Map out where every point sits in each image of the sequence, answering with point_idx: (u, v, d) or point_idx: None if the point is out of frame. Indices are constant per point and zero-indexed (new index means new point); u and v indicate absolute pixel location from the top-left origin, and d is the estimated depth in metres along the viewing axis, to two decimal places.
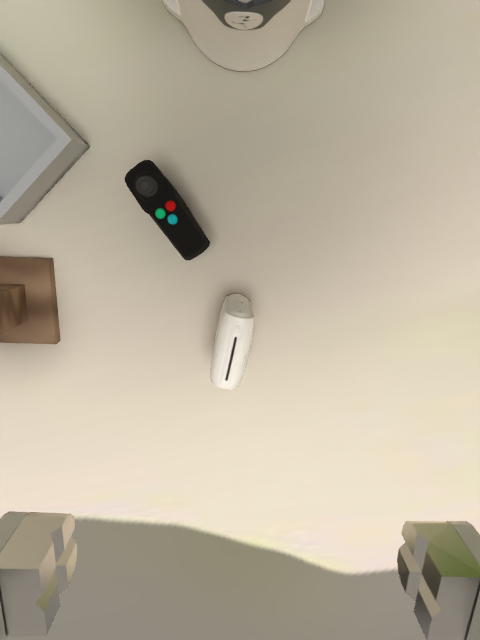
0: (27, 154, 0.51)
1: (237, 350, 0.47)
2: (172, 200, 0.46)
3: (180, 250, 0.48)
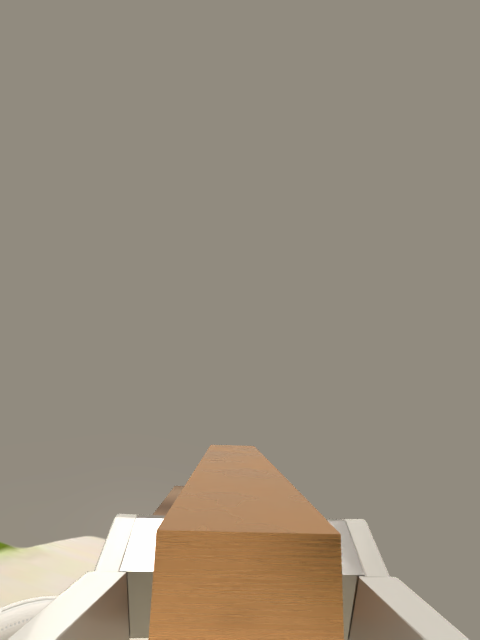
0: None
1: (18, 601, 0.41)
2: None
3: None
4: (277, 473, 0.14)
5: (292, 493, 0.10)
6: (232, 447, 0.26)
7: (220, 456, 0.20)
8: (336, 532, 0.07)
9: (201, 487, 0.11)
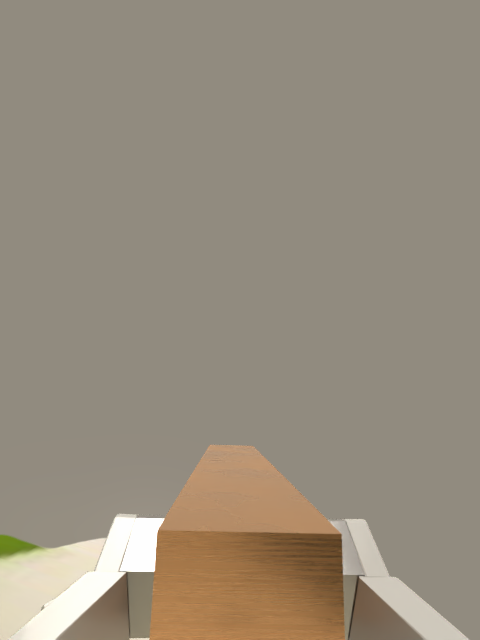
0: None
1: None
2: None
3: None
4: (277, 473, 0.14)
5: (292, 493, 0.10)
6: (231, 447, 0.26)
7: (219, 456, 0.19)
8: (337, 532, 0.07)
9: (201, 487, 0.11)
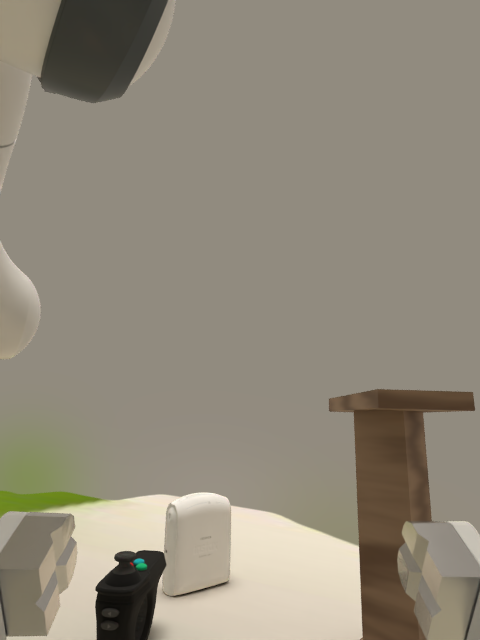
0: None
1: None
2: None
3: (160, 555, 0.47)
4: None
5: None
6: None
7: None
8: None
9: None
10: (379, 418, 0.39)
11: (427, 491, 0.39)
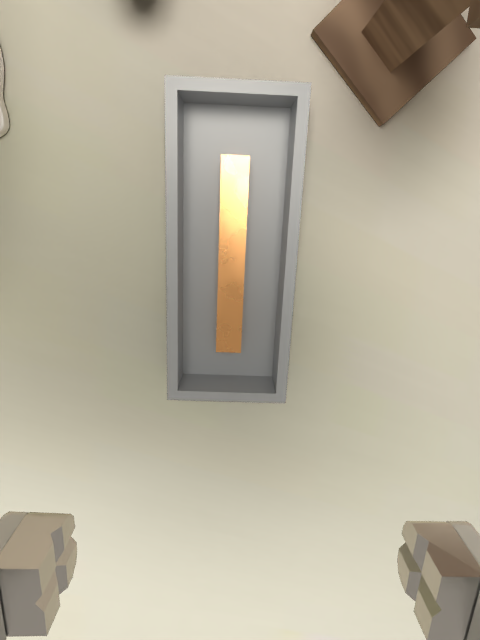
0: (229, 137, 0.44)
1: None
2: None
3: None
4: (242, 291, 0.46)
5: (240, 323, 0.47)
6: (234, 175, 0.43)
7: (226, 238, 0.44)
8: (240, 352, 0.48)
9: (220, 318, 0.47)
10: None
11: None
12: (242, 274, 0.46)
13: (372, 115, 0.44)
